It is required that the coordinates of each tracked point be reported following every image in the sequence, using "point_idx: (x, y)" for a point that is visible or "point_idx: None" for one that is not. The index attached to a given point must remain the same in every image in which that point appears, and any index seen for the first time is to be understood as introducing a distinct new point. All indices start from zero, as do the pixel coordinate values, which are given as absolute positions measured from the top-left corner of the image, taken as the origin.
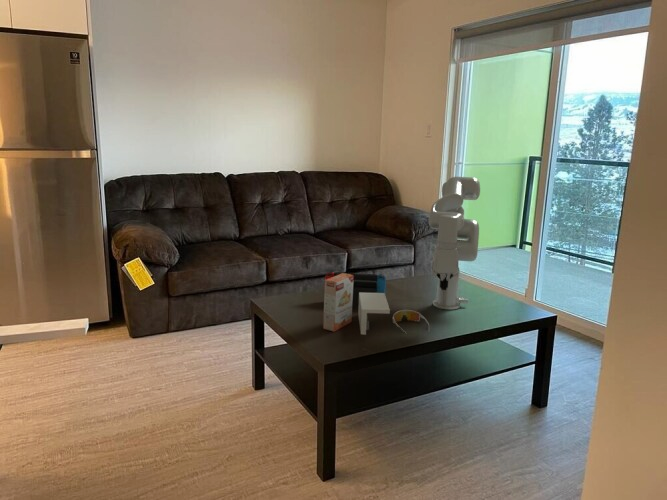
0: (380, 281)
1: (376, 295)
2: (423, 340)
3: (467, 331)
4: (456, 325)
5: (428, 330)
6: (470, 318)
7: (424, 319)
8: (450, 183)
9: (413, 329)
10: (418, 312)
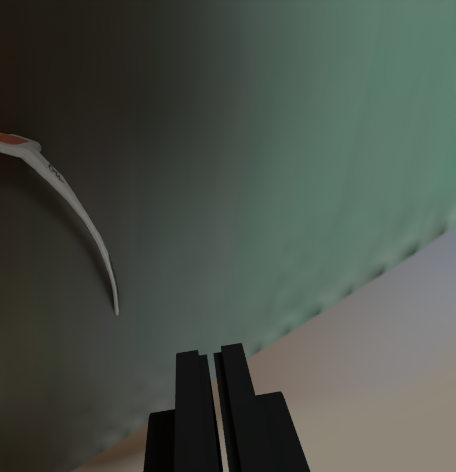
0: None
1: None
2: (91, 434)
3: (345, 269)
4: (299, 181)
5: (114, 308)
6: (430, 10)
7: (73, 202)
8: None
9: (19, 303)
10: (3, 146)
